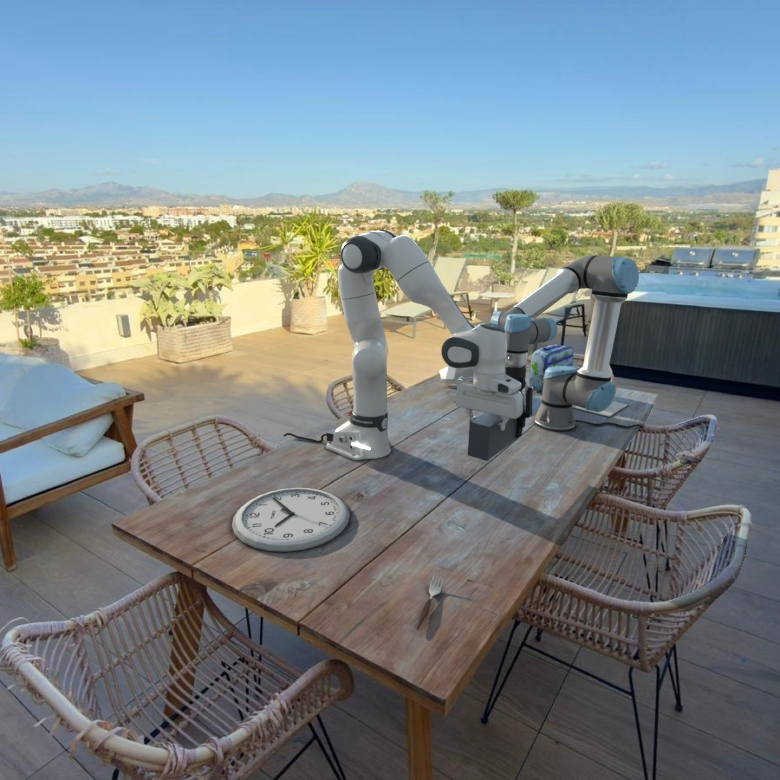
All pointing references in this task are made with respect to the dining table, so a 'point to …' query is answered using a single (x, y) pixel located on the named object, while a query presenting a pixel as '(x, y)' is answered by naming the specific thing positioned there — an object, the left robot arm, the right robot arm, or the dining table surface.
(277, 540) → the wall clock
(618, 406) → the invitation card
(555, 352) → the lunch box
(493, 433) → the box
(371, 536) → the dining table surface
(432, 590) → the fork
